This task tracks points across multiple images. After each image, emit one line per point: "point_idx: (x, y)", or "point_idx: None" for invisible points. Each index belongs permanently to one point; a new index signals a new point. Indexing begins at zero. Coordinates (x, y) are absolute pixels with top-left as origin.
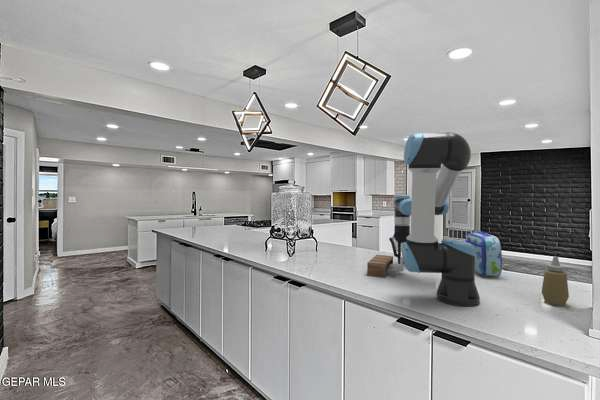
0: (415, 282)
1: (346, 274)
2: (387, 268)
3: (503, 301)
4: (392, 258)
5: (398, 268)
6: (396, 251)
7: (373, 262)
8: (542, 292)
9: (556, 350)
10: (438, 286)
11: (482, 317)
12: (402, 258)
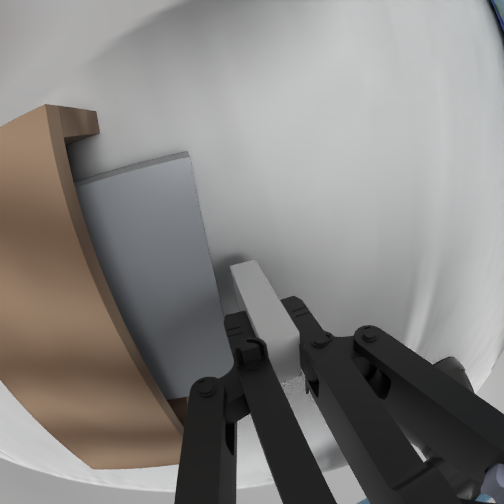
0: None
1: (34, 421)
2: (158, 367)
3: (489, 330)
4: (66, 160)
5: (218, 293)
6: (222, 428)
7: (115, 462)
8: None
9: None
10: (404, 430)
11: None
12: (293, 372)
